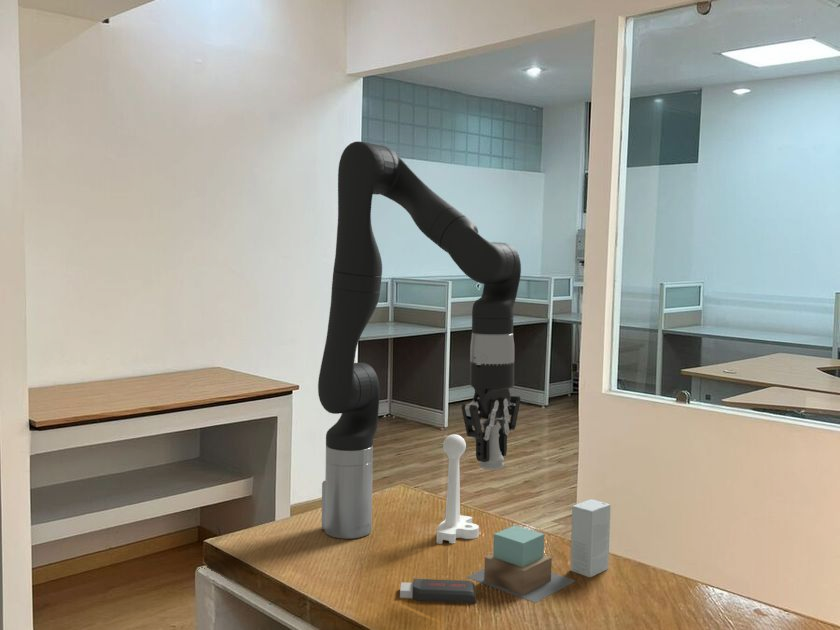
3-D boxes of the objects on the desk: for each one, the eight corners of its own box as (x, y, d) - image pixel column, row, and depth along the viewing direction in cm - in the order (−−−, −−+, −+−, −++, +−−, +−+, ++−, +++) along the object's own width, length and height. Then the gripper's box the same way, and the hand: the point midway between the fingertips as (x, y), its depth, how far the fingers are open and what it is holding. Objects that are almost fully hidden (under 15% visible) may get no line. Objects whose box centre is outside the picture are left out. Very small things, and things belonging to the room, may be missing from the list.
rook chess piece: (503, 470, 131) (503, 423, 131) (476, 469, 132) (477, 422, 132) (505, 464, 136) (506, 419, 135) (480, 463, 137) (480, 418, 136)
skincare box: (588, 563, 140) (590, 498, 139) (609, 570, 137) (611, 504, 136) (568, 572, 136) (571, 505, 135) (589, 580, 133) (592, 511, 132)
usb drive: (475, 608, 122) (476, 591, 122) (399, 605, 122) (399, 588, 122) (474, 594, 127) (475, 577, 127) (401, 591, 128) (401, 575, 127)
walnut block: (484, 580, 131) (484, 557, 130) (512, 567, 137) (513, 544, 136) (523, 594, 125) (524, 570, 125) (550, 580, 131) (551, 557, 131)
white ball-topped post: (451, 524, 159) (453, 427, 158) (486, 530, 156) (489, 431, 155) (431, 542, 149) (433, 439, 147) (468, 548, 146) (471, 443, 144)
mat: (466, 579, 132) (466, 576, 132) (508, 559, 141) (508, 557, 141) (535, 605, 123) (535, 602, 123) (575, 583, 131) (575, 580, 131)
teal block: (493, 557, 130) (493, 533, 130) (514, 547, 135) (515, 525, 135) (522, 567, 126) (523, 543, 126) (543, 557, 131) (544, 534, 130)
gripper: (499, 354, 141) (498, 448, 142) (448, 361, 130) (447, 462, 131) (534, 357, 135) (533, 455, 136) (483, 365, 125) (483, 470, 126)
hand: (491, 458), depth 134 cm, fingers closed on rook chess piece, 4 cm apart
